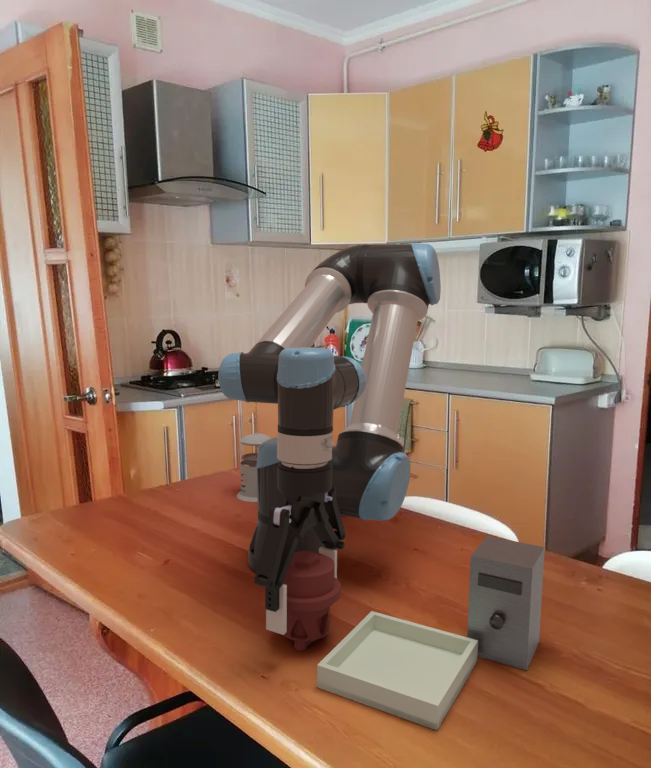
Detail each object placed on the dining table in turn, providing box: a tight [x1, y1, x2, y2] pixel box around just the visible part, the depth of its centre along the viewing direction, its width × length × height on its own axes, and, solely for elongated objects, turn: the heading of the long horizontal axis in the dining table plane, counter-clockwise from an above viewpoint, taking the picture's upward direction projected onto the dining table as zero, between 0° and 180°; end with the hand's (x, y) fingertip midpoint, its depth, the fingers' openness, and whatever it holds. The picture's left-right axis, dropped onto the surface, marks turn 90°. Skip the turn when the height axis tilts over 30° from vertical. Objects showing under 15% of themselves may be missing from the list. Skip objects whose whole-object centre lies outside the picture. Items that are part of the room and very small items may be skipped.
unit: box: [467, 535, 546, 672], centre depth 86 cm, size 8×9×14 cm
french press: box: [236, 407, 273, 503], centre depth 152 cm, size 10×12×25 cm
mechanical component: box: [283, 551, 341, 652], centre depth 89 cm, size 12×10×10 cm
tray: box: [316, 610, 478, 731], centre depth 81 cm, size 16×16×3 cm
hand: (303, 610), depth 88 cm, fingers open, 13 cm apart
